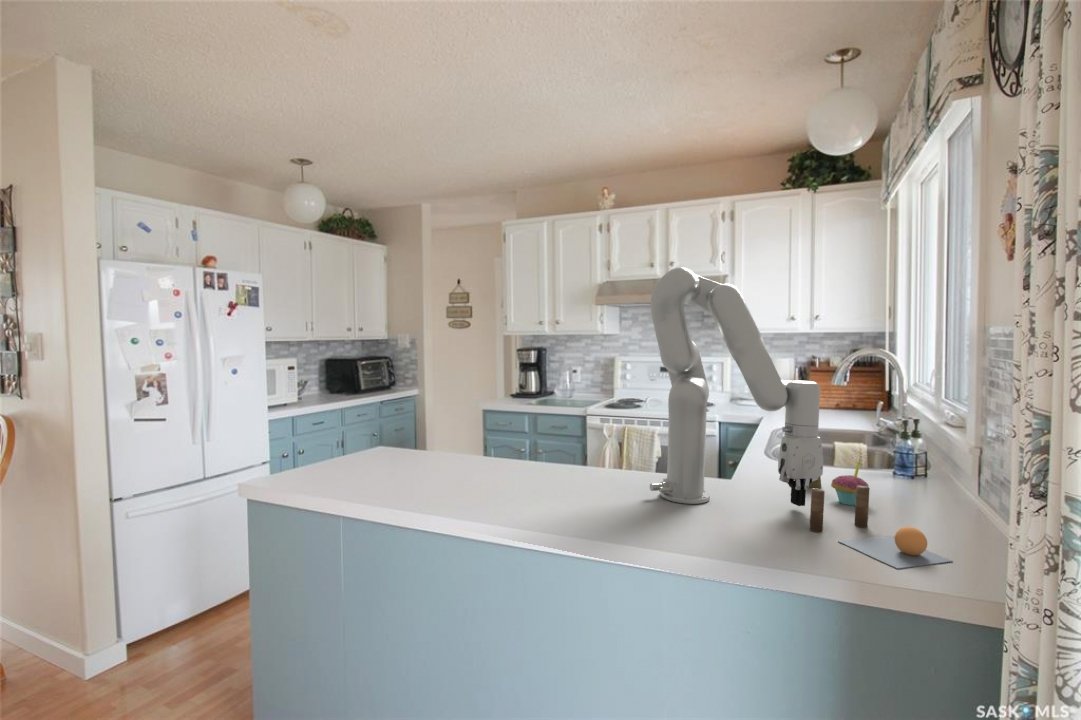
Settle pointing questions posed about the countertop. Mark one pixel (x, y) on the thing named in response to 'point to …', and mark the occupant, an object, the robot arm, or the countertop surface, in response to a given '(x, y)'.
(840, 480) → the cupcake
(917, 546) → the ball
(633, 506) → the countertop surface
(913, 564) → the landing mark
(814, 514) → the post
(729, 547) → the countertop surface
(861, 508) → the post
